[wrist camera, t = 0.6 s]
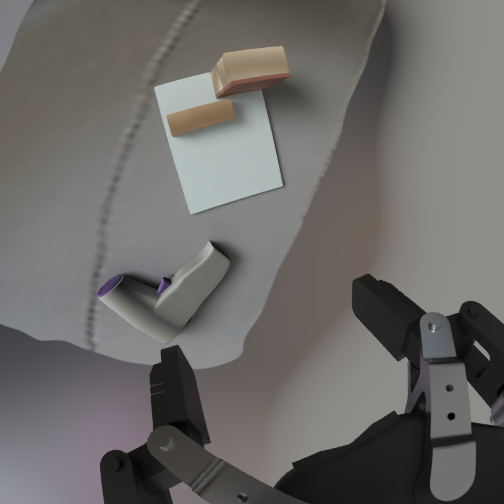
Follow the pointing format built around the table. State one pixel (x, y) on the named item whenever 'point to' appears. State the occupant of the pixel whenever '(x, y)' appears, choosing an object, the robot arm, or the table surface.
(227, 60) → the wooden block
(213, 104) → the rail
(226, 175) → the silicone mat
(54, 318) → the table surface
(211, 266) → the infrared thermometer
